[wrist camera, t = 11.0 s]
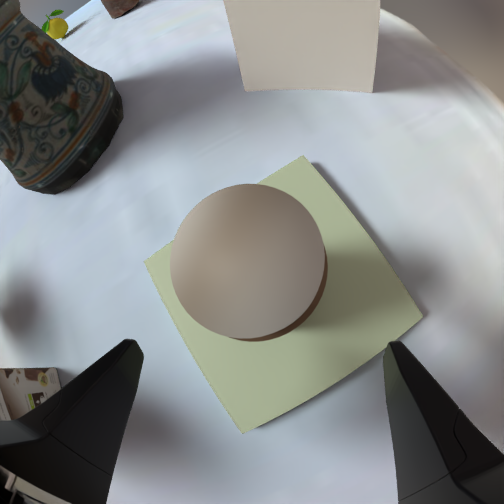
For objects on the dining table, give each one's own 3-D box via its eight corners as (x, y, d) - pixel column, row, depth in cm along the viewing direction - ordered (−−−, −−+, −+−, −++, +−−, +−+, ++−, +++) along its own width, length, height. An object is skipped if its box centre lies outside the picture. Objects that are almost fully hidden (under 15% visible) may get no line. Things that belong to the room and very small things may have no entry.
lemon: (75, 26, 43) (58, 3, 34) (74, 31, 41) (55, 8, 32) (55, 41, 43) (37, 20, 34) (53, 48, 42) (34, 26, 32)
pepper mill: (329, 270, 17) (355, 210, 8) (297, 344, 17) (287, 374, 7) (257, 241, 19) (208, 160, 9) (225, 311, 18) (140, 298, 8)
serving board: (416, 317, 17) (423, 316, 15) (245, 427, 17) (242, 433, 16) (303, 163, 21) (303, 155, 20) (151, 264, 21) (143, 261, 20)
